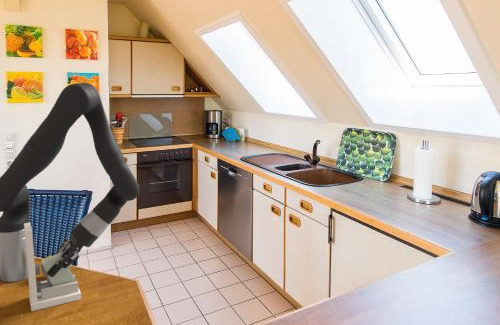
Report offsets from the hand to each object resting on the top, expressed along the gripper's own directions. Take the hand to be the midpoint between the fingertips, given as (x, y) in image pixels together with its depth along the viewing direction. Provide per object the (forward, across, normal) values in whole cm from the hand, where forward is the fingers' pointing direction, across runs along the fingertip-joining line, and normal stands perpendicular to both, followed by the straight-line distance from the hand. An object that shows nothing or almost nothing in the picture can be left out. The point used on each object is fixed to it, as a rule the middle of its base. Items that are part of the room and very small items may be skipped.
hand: (48, 273), depth 119 cm
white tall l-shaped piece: (+5, 0, +7) cm, 9 cm away
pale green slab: (+1, 0, +7) cm, 7 cm away
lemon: (+5, -16, +8) cm, 18 cm away
